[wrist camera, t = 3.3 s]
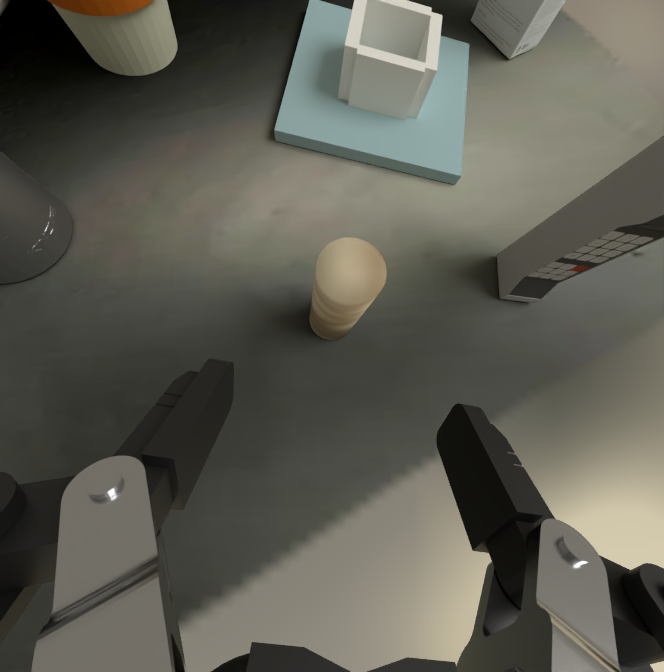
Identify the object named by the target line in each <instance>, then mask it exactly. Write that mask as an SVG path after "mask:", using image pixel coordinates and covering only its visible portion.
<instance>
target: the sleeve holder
mask: <svg viewBox="0 0 664 672" xmlns="http://www.w3.org/2000/svg"><path fill="white" fill-rule="evenodd" d="M431 9H432V8H431V7H427V6H424V5H421V4H417V3H414V2H410V1H407V0H354V4H353V9H352V10H351V9H347V8H344V7H340V6H337V5H333V4H330V3H326V2H323V1H319V0H310V1H309V5H308V8H307V12H306V16H305V19H304V23H303V27H302V30H301V34H300V38H299V41H298V45H297V49H296V52H295V56H294V59H293V63H292V67H291V70H290V74H289V78H288V81H287V85H286V89H285V92H284V96H283V100H282V103H281V107H280V111H279V114H278V118H277V122H276V125H275V129H274V133H275V141H278V142H282V143H286V144H290V145H294V146H298V147H302V148H307V149H311V150H315V151H319V152H323V153H327V154H331V155H335V156H339V157H343V158H348V159H352V160H356V161H360V162H364V163H368V164H372V165H376V166H380V167H384V168H389V169H393V170H397V171H401V172H405V173H409V174H413V175H417V176H421V177H425V178H429V179H434V180H438V181H442V182H446V183H450V184H454V185H455V184H456V183H457V181H458V180H459V179H460V177H461V174H462V157H463V141H464V125H465V108H466V92H467V76H468V59H469V44H468V43H465V42H461V41H458V40H454V39H451V38H447V37H444V36H441V26H442V16H443V15H440V14H437V13H433V12H431Z"/></svg>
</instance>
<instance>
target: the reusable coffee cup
mask: <svg viewBox="0 0 664 672" xmlns="http://www.w3.org/2000/svg"><path fill="white" fill-rule="evenodd" d="M48 1H49V2H50V3H52V5H53V6H54V7H55V9H56V10H57V11H58V13H59V14H60V15H61V17H62V18H63V19H64V21H65V22H66V24H67V25H68V26H69V28H70V29H71V30H72V32H73V33H74V34H75V36H76V37H77V38H78V40H79V41H80V43H81V44H82V45H83V47H84V48H85V49H86V51H87V52H88V53H89V55H90V56H91V57H92V58H93V60H94V61H95V62H96V63H97V64H99V65H100V66H101V67H103V68H105V69H107V70H109V71H111V72H114V73H117V74H122V75H127V76H140V75H147V74H151V73H155V72H157V71H159V70H161V69H163V68H164V67H166V66H167V65H168V64H169V63H170V62H171V61H172V60H173V58H174V57H175V55H176V51H177V40H176V36H175V32H174V28H173V24H172V20H171V15H170V11H169V7H168V3H167V0H48Z"/></svg>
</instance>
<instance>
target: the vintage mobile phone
mask: <svg viewBox="0 0 664 672" xmlns="http://www.w3.org/2000/svg"><path fill="white" fill-rule="evenodd" d="M661 238H664V136H662V137H661V138H660V139H658V140H657V141H655V142H654V143H653V144H651V145H650V146H648V147H647V148H646V149H644V150H643V151H641V152H640V153H639V154H637V155H636V156H634V157H633V158H632V159H630V160H629V161H627V162H626V163H625V164H623V165H622V166H620V167H619V168H618V169H616V170H615V171H613V172H612V173H611V174H609V175H608V176H606V177H605V178H604V179H602V180H601V181H599V182H598V183H597V184H595V185H594V186H592V187H591V188H590V189H588V190H587V191H585V192H584V193H583V194H581V195H580V196H578V197H577V198H576V199H574V200H573V201H571V202H570V203H568V204H567V205H566V206H564V207H563V208H561V209H560V210H559V211H557V212H556V213H554V214H553V215H552V216H550V217H549V218H547V219H546V220H545V221H543V222H542V223H540V224H539V225H538V226H536V227H535V228H533V229H532V230H531V231H529V232H528V233H526V234H525V235H524V236H522V237H521V238H519V239H518V240H517V241H515V242H514V243H512V244H511V245H510V246H508V247H507V248H505V249H504V250H503V251H501V252H500V253H498V254H497V267H498V283H499V297H500V299H507V300H515V301H523V302H530V303H535V302H537V301H540V300H542V299H543V298H544V297H545V296H546V295H547V294H548V293H549V292H550V291H551V290H552V289H553V288H554V287H555V286H556V285H557V284H558V283H560V282H562V281H564V280H567V279H569V278H571V277H574V276H576V275H578V274H581V273H583V272H585V271H587V270H590V269H592V268H594V267H597V266H599V265H601V264H604V263H606V262H608V261H610V260H613V259H615V258H617V257H620V256H622V255H624V254H627V253H629V252H631V251H634V250H636V249H638V248H640V247H643V246H645V245H647V244H650V243H652V242H654V241H657V240H659V239H661Z"/></svg>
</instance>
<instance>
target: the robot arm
mask: <svg viewBox="0 0 664 672" xmlns="http://www.w3.org/2000/svg"><path fill="white" fill-rule="evenodd" d="M71 236H72V221H71V216H70V214H69V212H68V210H67V208H66V207H65V206H64V204H63V203H62V202H61V201H60V200H59V199H58V198H56V197H55V196H54V195H53V194H52V193H50V192H49V191H48V190H47V189H45V188H44V187H43V186H42V185H41V184H39V183H38V182H37V181H36V180H34V179H33V178H32V177H31V176H29V175H28V174H27V173H26V172H25V171H23V170H22V169H21V168H20V167H18V166H17V165H16V164H15V163H14V162H13V161H12V160H10V159H9V158H8V157H7V156H5V155H4V154H3V153H2V152H0V284H7V283H14V282H20V281H23V280H26V279H29V278H32V277H34V276H36V275H38V274H40V273H42V272H44V271H46V270H47V269H48V268H50V267H51V266H52V265H53V264H55V263H56V262H57V261H58V260H59V258H60V257H61V256H62V255H63V254H64V252H65V250H66V249H67V247H68V245H69V243H70V240H71ZM233 387H234V365H233V363H232V362H228V361H222V360H216V359H208V360H207V362H206V363H205V364H204V366H203V367H202V369H201V370H200V371H199V372H194V371H188V372H187V373H185V374H183V375H182V376H180V377H179V378H177V379H175V380H174V381H173V383H172V384H171V385H170V386H169V388H168V389H167V390H166V391H165V393H164V395H162V396H161V398H160V399H159V400H158V401H157V403H156V405H155V406H153V408H152V409H151V410H150V411H149V413H148V414H147V415H146V416H145V417H144V419H143V420H142V421H141V422H140V424H139V425H138V426H137V427H136V429H135V430H134V431H133V432H132V434H131V435H130V436H129V437H128V439H127V440H126V441H125V442H124V444H123V445H122V446H121V447H120V449H119V450H118V451H117V452H116V453H115V454H114V455H113V456H112V457H109V458H105V459H103V460H100V461H98V462H96V463H94V464H92V465H90V466H89V467H87V468H85V469H84V470H83V471H81V472H80V473H79V474H78V475H76V476H72V477H67V478H61V479H54V480H47V481H41V482H34V483H27V484H21V485H18V484H17V482H16V481H15V480H14V478H13V477H12V476H11V475H9V474H7V473H4V472H0V644H1V643H2V641H3V640H4V638H5V637H6V635H7V634H8V632H9V631H10V629H11V628H12V626H13V625H14V624H15V622H16V621H17V619H18V618H19V616H20V615H21V613H22V612H23V610H24V609H25V607H26V606H27V604H28V603H29V601H30V600H31V598H32V597H33V595H34V594H35V592H36V591H37V589H38V588H39V586H40V585H41V584H42V583H44V582H48V581H52V580H55V589H54V602H53V610H52V615H51V618H50V620H49V622H48V623H47V624H46V625H45V626H44V627H43V628H42V630H41V632H40V634H39V637H38V640H37V643H36V647H35V651H34V657H33V664H32V672H187V671H186V665H185V659H184V653H183V647H182V641H181V636H180V631H179V625H178V621H177V616H176V611H175V607H174V601H173V595H172V590H171V584H170V578H169V572H168V566H167V560H166V554H165V548H164V542H163V536H162V530H161V526H162V524H163V522H164V520H165V518H166V516H167V514H168V512H169V510H170V508H171V509H179V510H183V509H184V507H185V505H186V503H187V500H188V498H189V496H190V494H191V492H192V490H193V488H194V486H195V483H196V481H197V479H198V477H199V475H200V473H201V471H202V469H203V466H204V464H205V462H206V460H207V458H208V456H209V454H210V451H211V449H212V447H213V445H214V443H215V441H216V439H217V437H218V434H219V432H220V430H221V428H222V426H223V424H224V422H225V420H226V417H227V415H228V413H229V411H230V408H231V405H232V401H233ZM437 448H438V451H439V454H440V457H441V459H442V462H443V465H444V468H445V471H446V474H447V477H448V480H449V483H450V486H451V488H452V491H453V494H454V497H455V500H456V503H457V506H458V509H459V512H460V515H461V518H462V521H463V524H464V526H465V530H466V532H467V535H468V538H469V541H470V544H471V547H472V550H473V551H479V552H486V553H489V554H490V557H491V560H492V561H491V562H490V563H489V565H488V566H487V570H486V575H485V579H484V584H483V588H482V593H481V597H480V602H479V607H478V612H477V616H476V621H475V625H474V630H473V634H472V636H471V639H470V641H469V643H468V644H467V646H466V647H465V649H464V650H463V652H462V654H461V656H460V658H459V660H458V663H457V666H456V664H455V662H446V661H436V660H427V659H417V658H405V659H402V660H399V661H396V662H393V663H391V664H388V665H385V666H382V667H379V668H377V669H374V670H371V671H368V672H654V671H653V669H652V668H651V666H650V664H653V663H657V662H661V661H664V569H663V568H661V567H659V566H657V565H654V564H648V563H646V564H643V565H641V566H638V567H636V568H634V569H632V570H629V569H627V568H625V567H622V566H621V565H618V564H616V563H614V562H612V561H610V560H608V559H606V558H604V557H602V556H600V555H598V553H597V552H596V551H595V549H594V548H593V547H592V545H591V544H590V543H589V542H588V541H587V540H586V539H585V538H584V537H583V536H582V535H581V534H580V533H579V532H578V531H576V530H575V529H574V528H572V527H571V526H569V525H568V524H566V523H564V522H562V521H559V520H556V519H555V518H554V516H553V515H552V513H551V512H550V510H549V508H548V506H547V505H546V503H545V502H544V500H543V498H542V497H541V495H540V493H539V492H538V490H537V488H536V487H535V485H534V484H533V482H532V480H531V479H530V477H529V476H528V474H527V472H526V470H525V469H524V468H523V467H522V466H521V462H520V461H519V459H518V457H517V456H516V455H514V451H513V449H512V447H511V446H510V444H509V443H508V441H507V439H506V438H505V437H504V436H503V435H502V434H501V432H500V431H499V430H498V429H497V428H496V427H495V426H494V425H493V424H490V422H489V420H488V419H487V417H486V415H485V414H484V412H483V410H482V409H481V408H479V407H475V406H469V405H464V404H456V405H454V406H453V408H452V409H451V411H450V413H449V414H448V416H447V417H446V419H445V421H444V422H443V424H442V425H441V427H440V429H439V430H438V433H437ZM211 672H350V671H348V670H346V669H344V668H342V667H340V666H339V665H337V664H335V663H333V662H331V661H329V660H327V659H325V658H323V657H322V656H320V655H318V654H316V653H314V652H312V651H310V650H308V649H306V648H304V647H296V646H286V645H276V644H266V643H255V642H252V644H251V649H250V653H249V654H245V655H242V656H239V657H236V658H234V659H232V660H230V661H228V662H226V663H224V664H222V665H220V666H219V667H218V668H216V669H214V670H213V671H211Z"/></svg>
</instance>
